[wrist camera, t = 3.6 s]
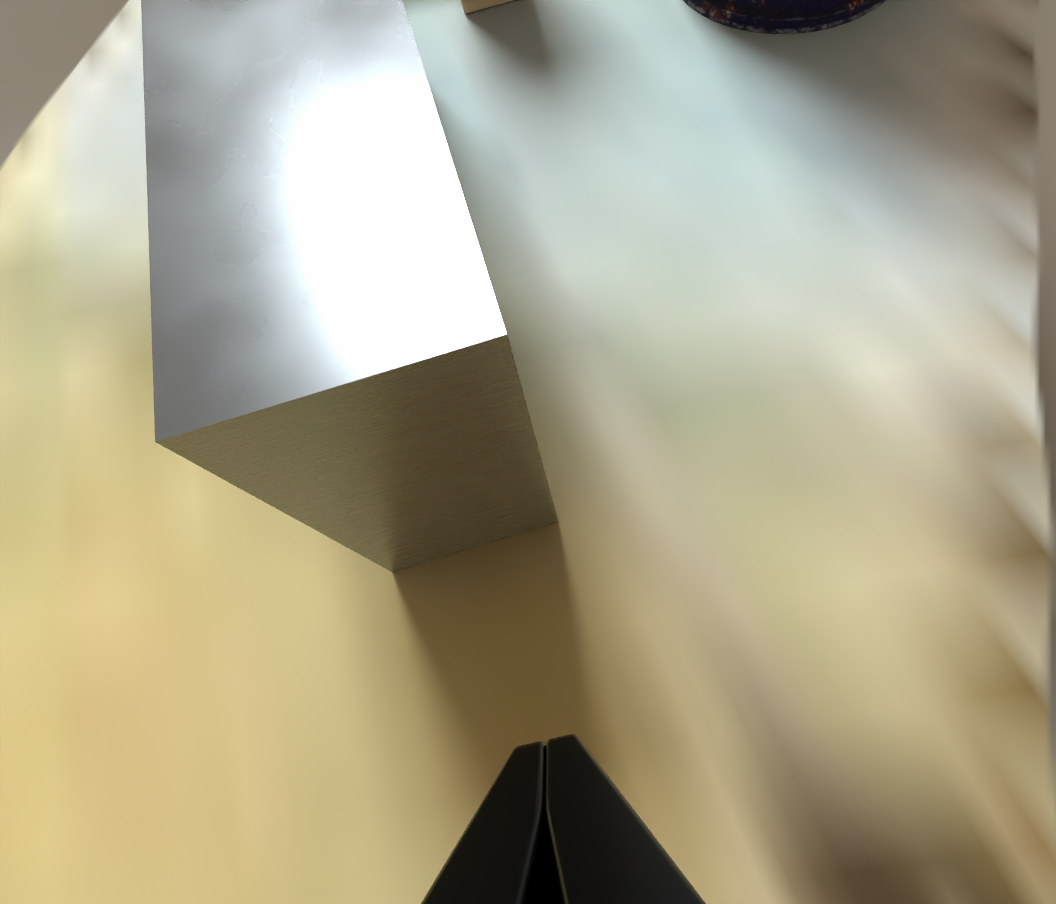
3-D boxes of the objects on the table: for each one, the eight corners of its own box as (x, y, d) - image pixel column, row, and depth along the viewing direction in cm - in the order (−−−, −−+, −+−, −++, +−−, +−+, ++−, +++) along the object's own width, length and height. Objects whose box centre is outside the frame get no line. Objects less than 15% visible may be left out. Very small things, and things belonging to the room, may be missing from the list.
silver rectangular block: (562, 521, 17) (513, 332, 8) (390, 573, 17) (147, 443, 8) (423, 77, 25) (318, -280, 16) (305, 114, 25) (130, -221, 16)
